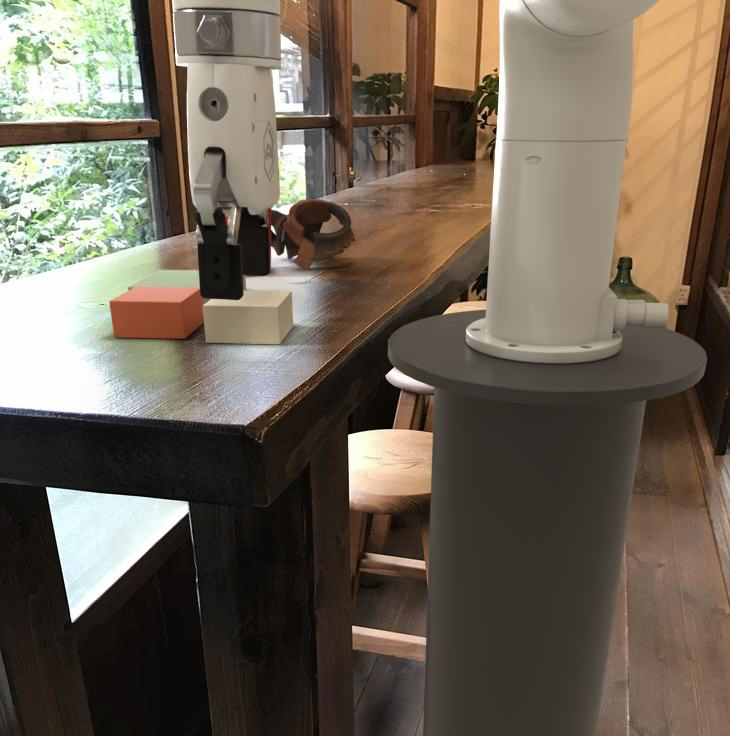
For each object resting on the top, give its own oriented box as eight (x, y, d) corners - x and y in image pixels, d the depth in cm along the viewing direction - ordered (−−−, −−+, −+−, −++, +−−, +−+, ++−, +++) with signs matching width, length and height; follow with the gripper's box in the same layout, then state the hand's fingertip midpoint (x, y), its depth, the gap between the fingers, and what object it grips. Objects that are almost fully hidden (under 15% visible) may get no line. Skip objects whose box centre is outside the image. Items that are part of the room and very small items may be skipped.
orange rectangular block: (205, 321, 71) (202, 287, 70) (185, 339, 65) (181, 302, 64) (139, 320, 71) (135, 286, 70) (113, 337, 66) (108, 301, 65)
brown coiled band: (353, 259, 102) (365, 204, 96) (337, 307, 97) (348, 251, 90) (262, 233, 102) (267, 176, 95) (240, 279, 96) (244, 221, 90)
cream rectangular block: (293, 326, 69) (291, 290, 68) (279, 344, 64) (277, 306, 62) (224, 324, 70) (222, 289, 68) (205, 342, 64) (202, 305, 63)
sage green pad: (246, 290, 83) (245, 270, 82) (224, 310, 75) (222, 288, 74) (161, 289, 84) (159, 269, 83) (130, 308, 76) (127, 287, 75)
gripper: (253, 35, 50) (260, 312, 57) (300, 54, 65) (301, 269, 73) (134, 33, 50) (157, 307, 58) (209, 51, 66) (219, 265, 73)
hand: (237, 285), depth 65 cm, fingers open, 9 cm apart
